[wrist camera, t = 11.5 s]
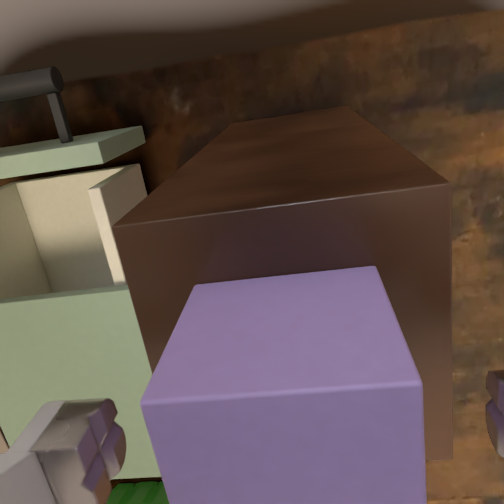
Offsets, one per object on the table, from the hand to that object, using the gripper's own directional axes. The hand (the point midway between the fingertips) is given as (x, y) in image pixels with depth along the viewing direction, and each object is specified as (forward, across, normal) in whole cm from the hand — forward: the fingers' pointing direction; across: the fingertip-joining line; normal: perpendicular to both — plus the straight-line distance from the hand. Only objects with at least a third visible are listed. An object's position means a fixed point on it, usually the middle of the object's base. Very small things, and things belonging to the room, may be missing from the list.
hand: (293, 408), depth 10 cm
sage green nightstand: (+25, +16, +11) cm, 32 cm away
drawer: (+24, +16, 0) cm, 29 cm away
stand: (+25, 0, 0) cm, 25 cm away
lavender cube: (+2, 0, 0) cm, 2 cm away
